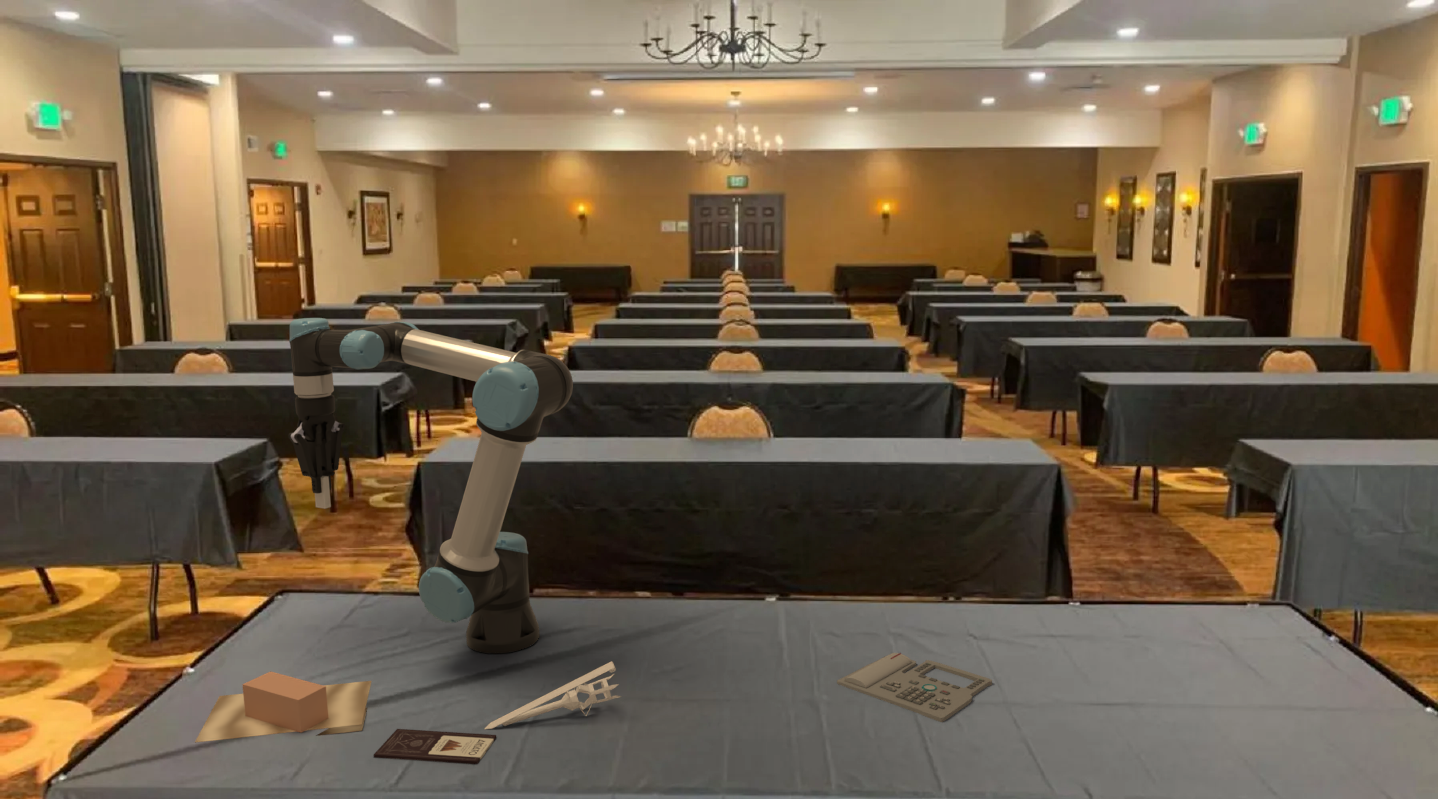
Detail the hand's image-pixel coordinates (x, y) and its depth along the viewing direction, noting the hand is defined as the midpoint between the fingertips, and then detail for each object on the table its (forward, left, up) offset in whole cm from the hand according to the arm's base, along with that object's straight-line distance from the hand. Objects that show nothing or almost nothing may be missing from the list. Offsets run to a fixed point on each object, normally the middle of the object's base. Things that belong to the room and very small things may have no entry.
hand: (323, 506), depth 220 cm
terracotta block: (+9, +32, -25) cm, 42 cm away
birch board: (+4, +34, -29) cm, 45 cm away
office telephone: (-111, +49, -30) cm, 125 cm away
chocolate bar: (-23, +52, -30) cm, 64 cm away
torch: (-44, +46, -30) cm, 70 cm away
